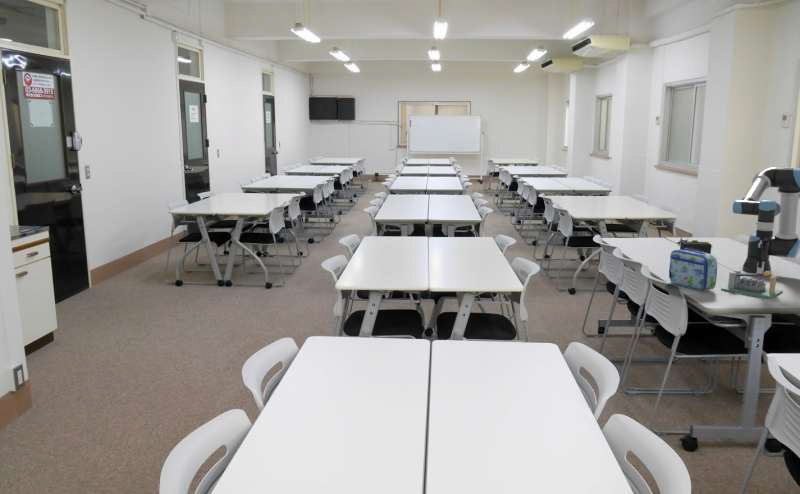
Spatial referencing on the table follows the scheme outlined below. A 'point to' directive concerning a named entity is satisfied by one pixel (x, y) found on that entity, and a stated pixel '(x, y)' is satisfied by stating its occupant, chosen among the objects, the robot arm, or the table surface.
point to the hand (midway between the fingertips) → (759, 273)
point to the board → (767, 293)
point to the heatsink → (751, 285)
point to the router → (696, 246)
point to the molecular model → (681, 240)
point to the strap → (756, 274)
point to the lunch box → (693, 269)
